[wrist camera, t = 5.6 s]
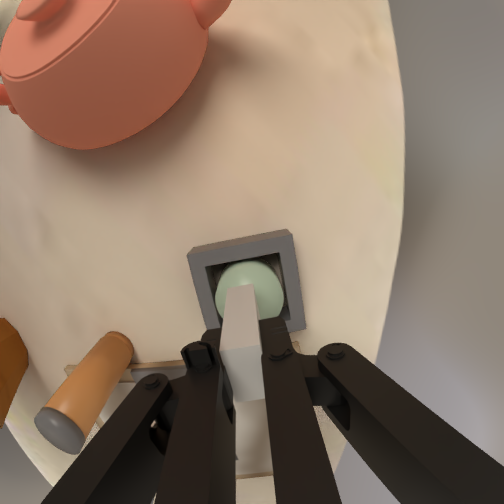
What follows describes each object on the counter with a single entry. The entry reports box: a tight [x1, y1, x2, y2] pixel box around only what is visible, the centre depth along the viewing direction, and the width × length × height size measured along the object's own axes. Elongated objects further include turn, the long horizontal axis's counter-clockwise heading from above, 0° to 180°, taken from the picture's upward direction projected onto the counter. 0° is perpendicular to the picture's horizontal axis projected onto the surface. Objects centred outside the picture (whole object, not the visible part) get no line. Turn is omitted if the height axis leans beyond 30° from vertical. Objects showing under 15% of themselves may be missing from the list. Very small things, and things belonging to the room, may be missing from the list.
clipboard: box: [64, 342, 301, 479], centre depth 24 cm, size 24×20×1 cm
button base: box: [187, 229, 306, 332], centre depth 20 cm, size 7×7×2 cm
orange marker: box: [34, 331, 134, 455], centre depth 17 cm, size 4×4×12 cm
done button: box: [215, 257, 284, 319], centre depth 19 cm, size 4×4×3 cm
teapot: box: [0, 0, 232, 150], centre depth 11 cm, size 22×16×12 cm
